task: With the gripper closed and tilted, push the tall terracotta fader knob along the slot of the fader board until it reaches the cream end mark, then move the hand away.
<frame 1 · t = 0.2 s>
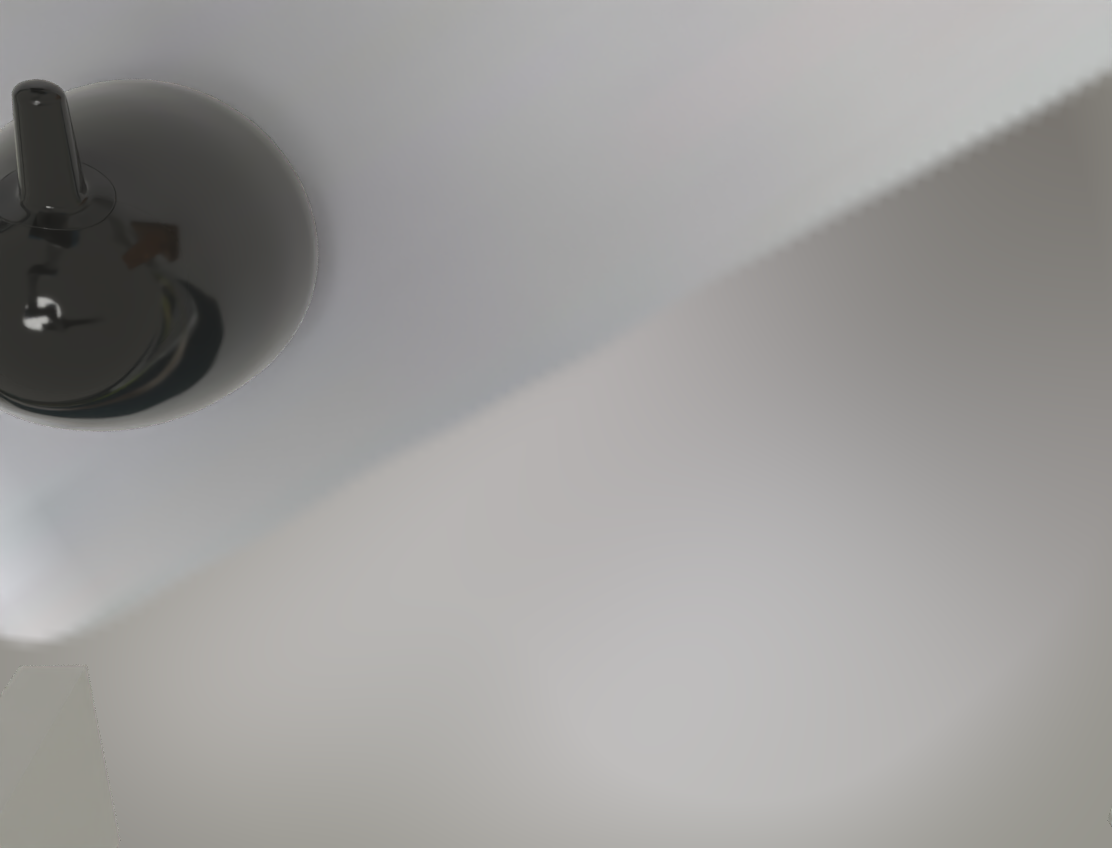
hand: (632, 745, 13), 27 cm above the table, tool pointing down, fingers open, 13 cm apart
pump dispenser: (187, 223, 37), on the table
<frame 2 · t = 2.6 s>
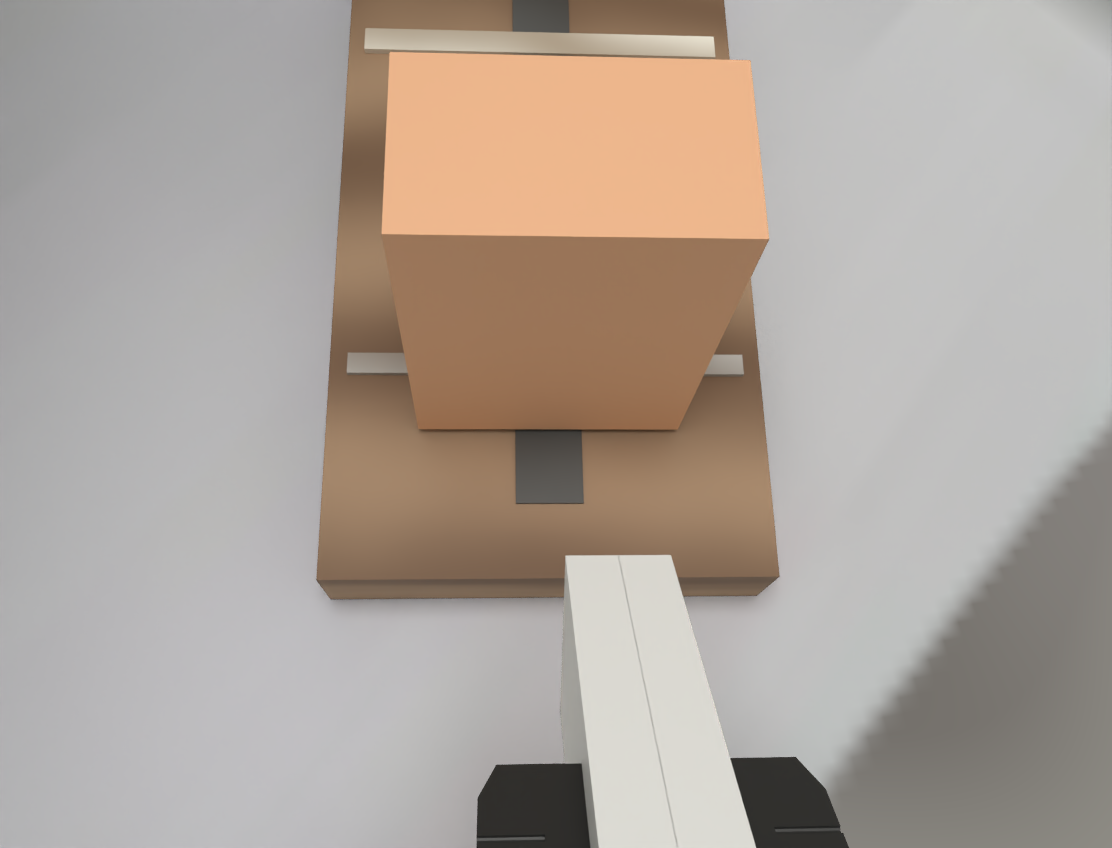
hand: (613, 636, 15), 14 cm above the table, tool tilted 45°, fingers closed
fader board: (540, 226, 34), on the table
fader knob: (558, 273, 24), point 8 cm above the table, slide at 0.0 cm
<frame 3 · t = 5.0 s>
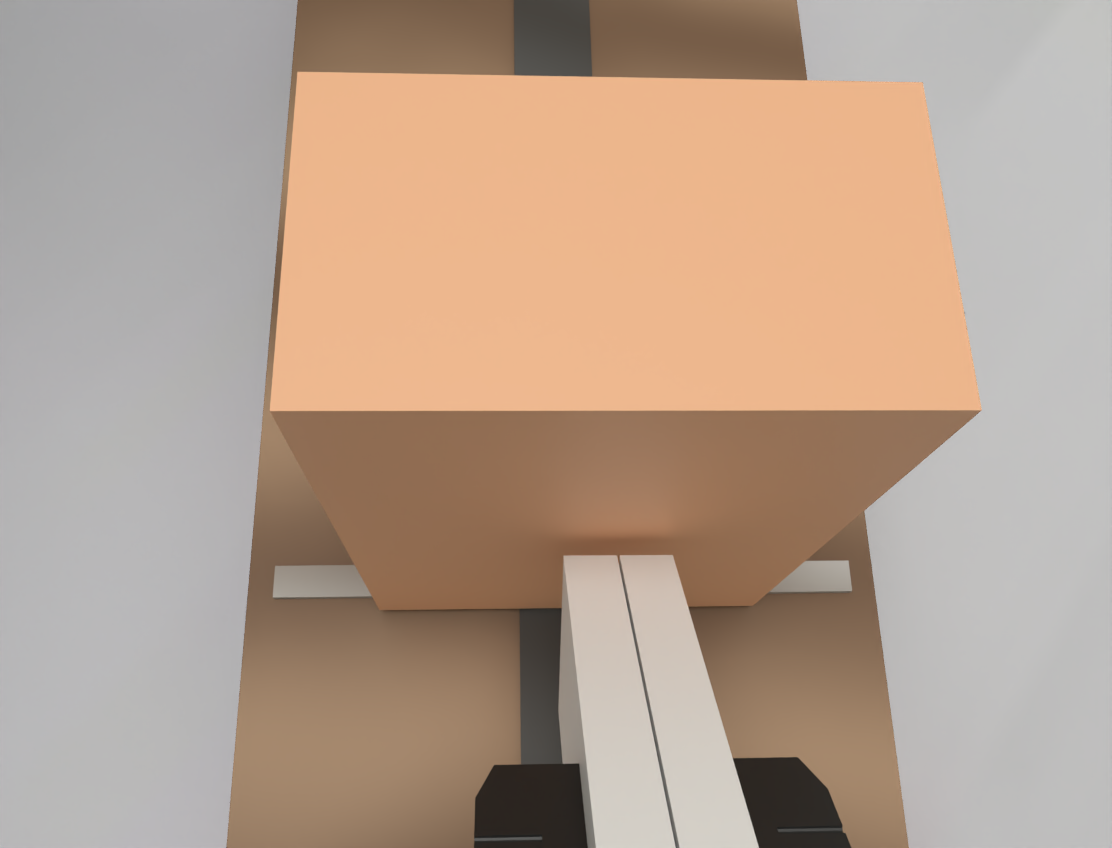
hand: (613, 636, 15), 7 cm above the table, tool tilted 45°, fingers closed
fader board: (553, 351, 24), on the table
fader knob: (585, 409, 16), point 8 cm above the table, slide at 1.4 cm, touching gripper
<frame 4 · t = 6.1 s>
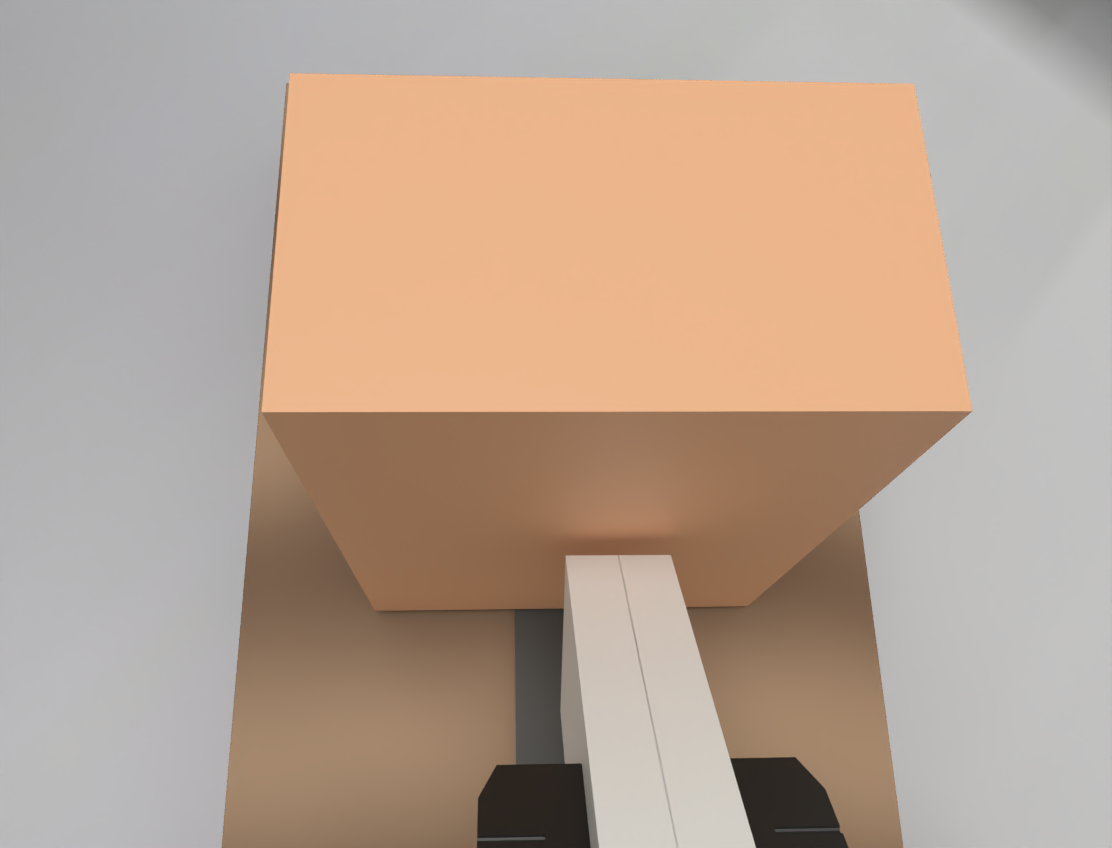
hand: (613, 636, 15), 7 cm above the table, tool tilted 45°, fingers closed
fader board: (554, 625, 22), on the table
fader knob: (579, 410, 16), point 8 cm above the table, slide at 7.8 cm, touching gripper
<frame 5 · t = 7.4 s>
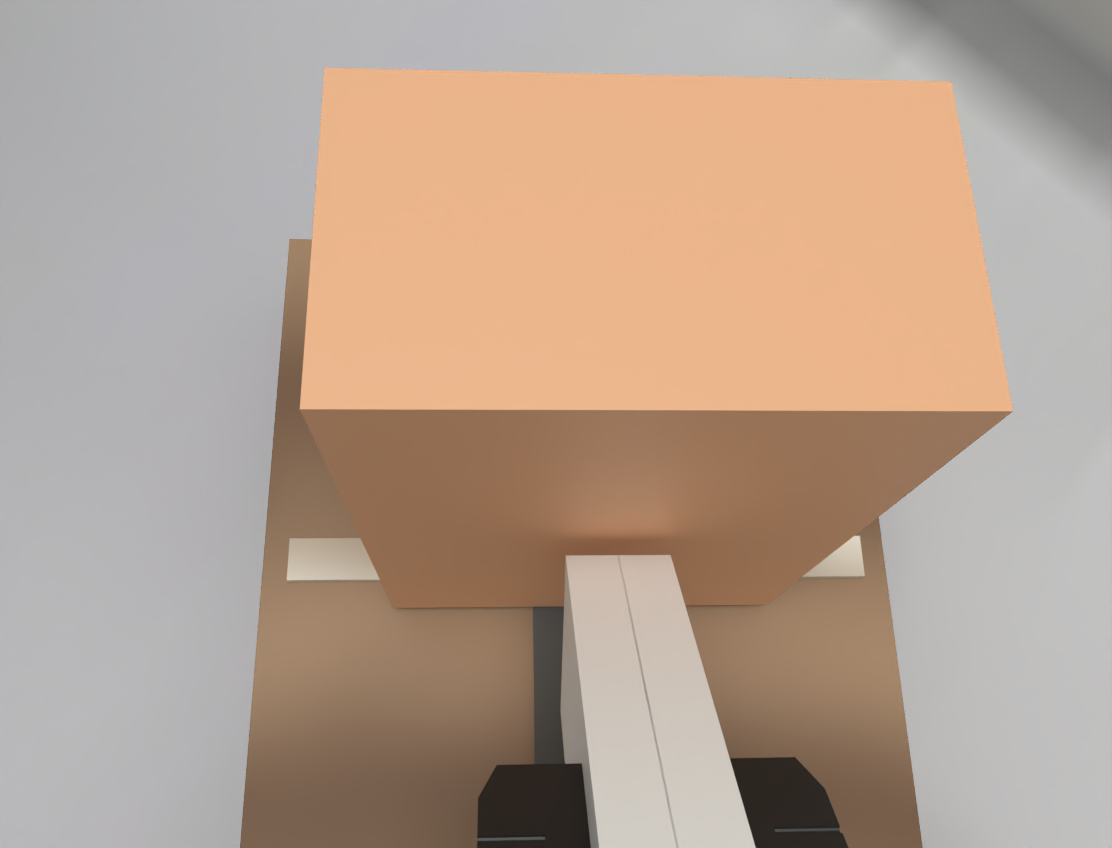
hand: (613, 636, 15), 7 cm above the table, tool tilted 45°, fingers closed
fader board: (576, 836, 21), on the table
fader knob: (604, 408, 16), point 8 cm above the table, slide at 12.0 cm, touching gripper
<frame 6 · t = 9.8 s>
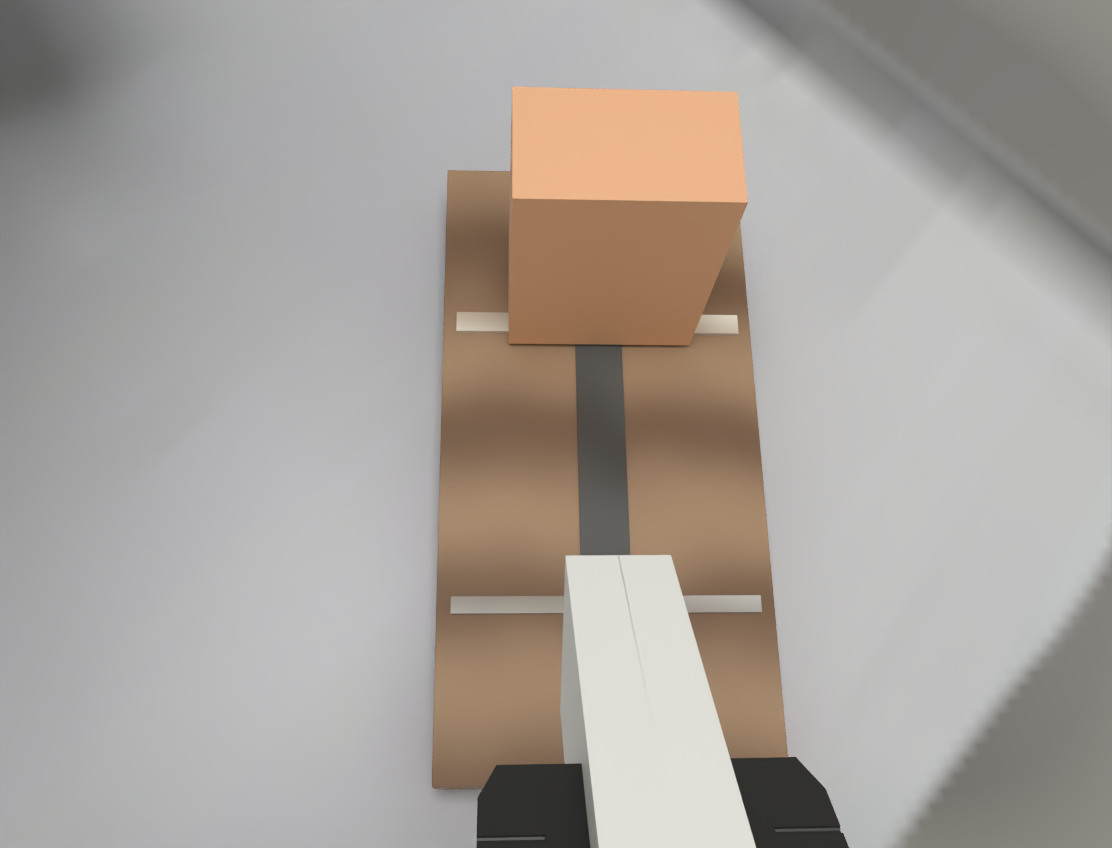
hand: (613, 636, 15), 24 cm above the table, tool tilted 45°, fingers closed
fader board: (595, 466, 41), on the table
fader knob: (611, 230, 36), point 8 cm above the table, slide at 12.0 cm
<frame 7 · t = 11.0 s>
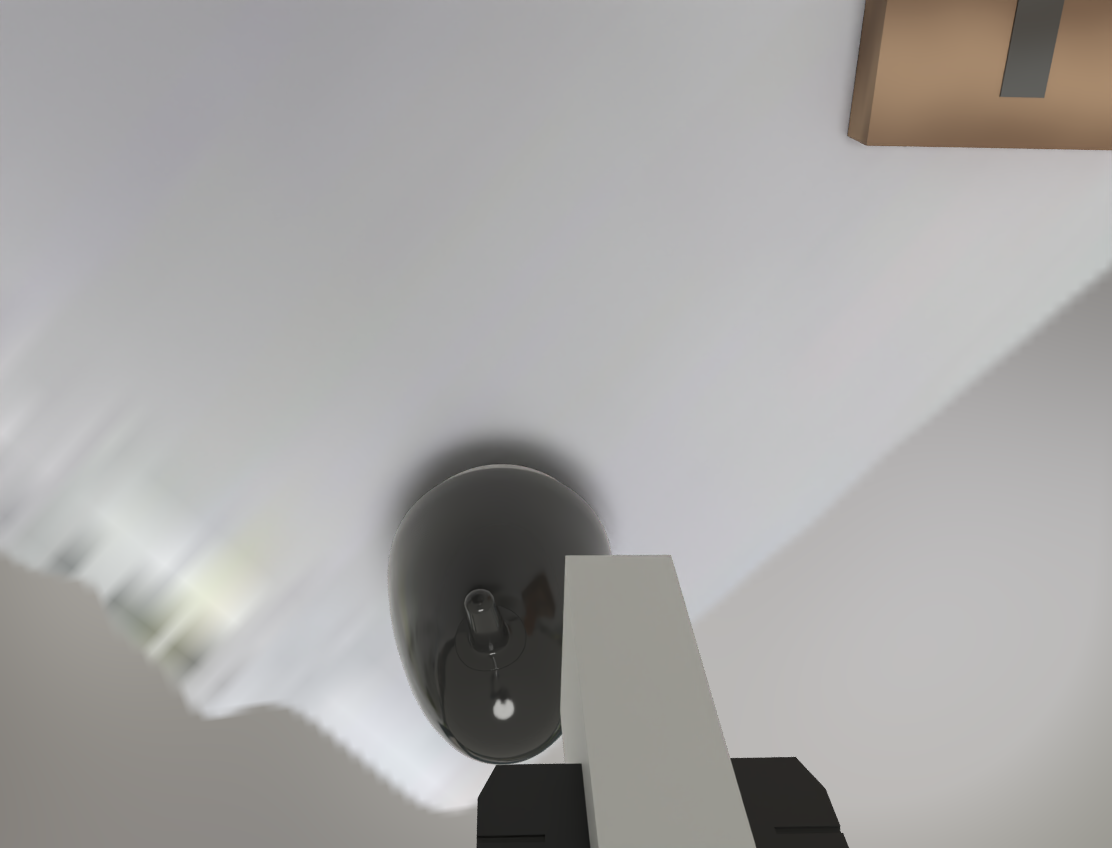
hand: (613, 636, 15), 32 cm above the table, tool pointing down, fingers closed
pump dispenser: (500, 523, 51), on the table
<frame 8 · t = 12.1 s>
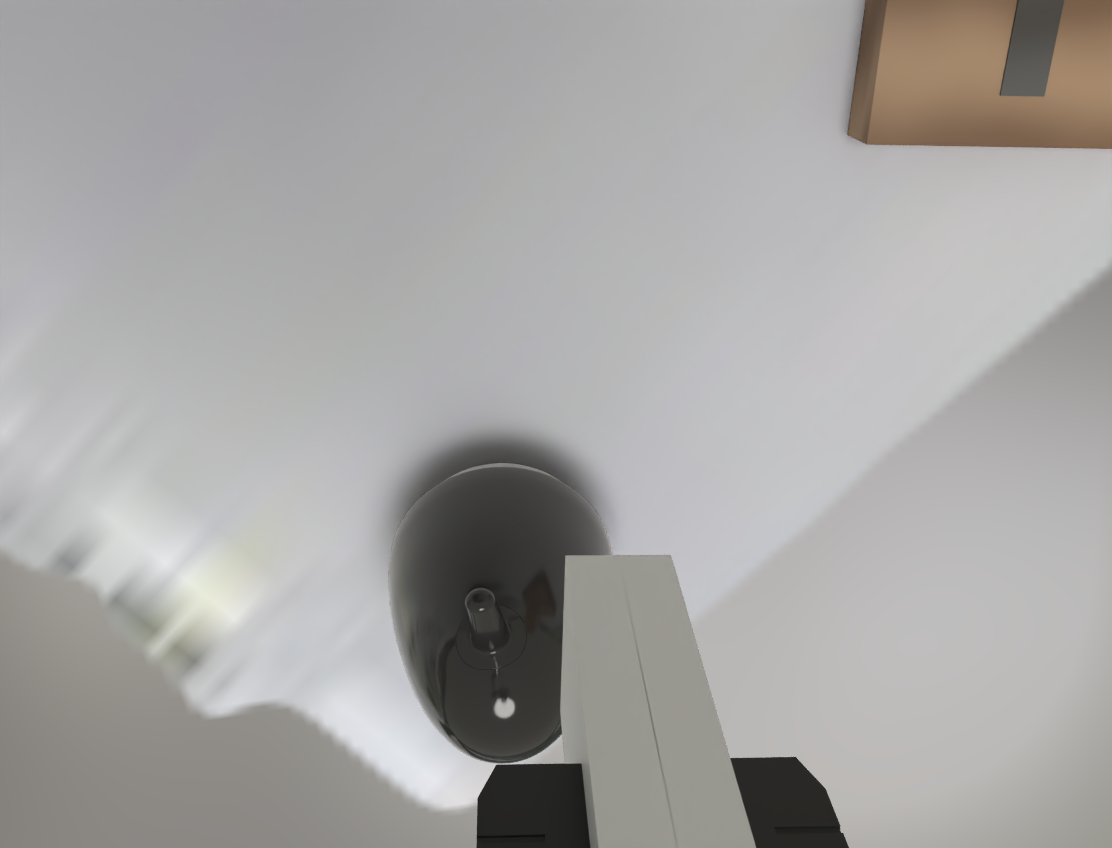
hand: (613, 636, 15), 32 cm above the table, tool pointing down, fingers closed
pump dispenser: (501, 522, 51), on the table
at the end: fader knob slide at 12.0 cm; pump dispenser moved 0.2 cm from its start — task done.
